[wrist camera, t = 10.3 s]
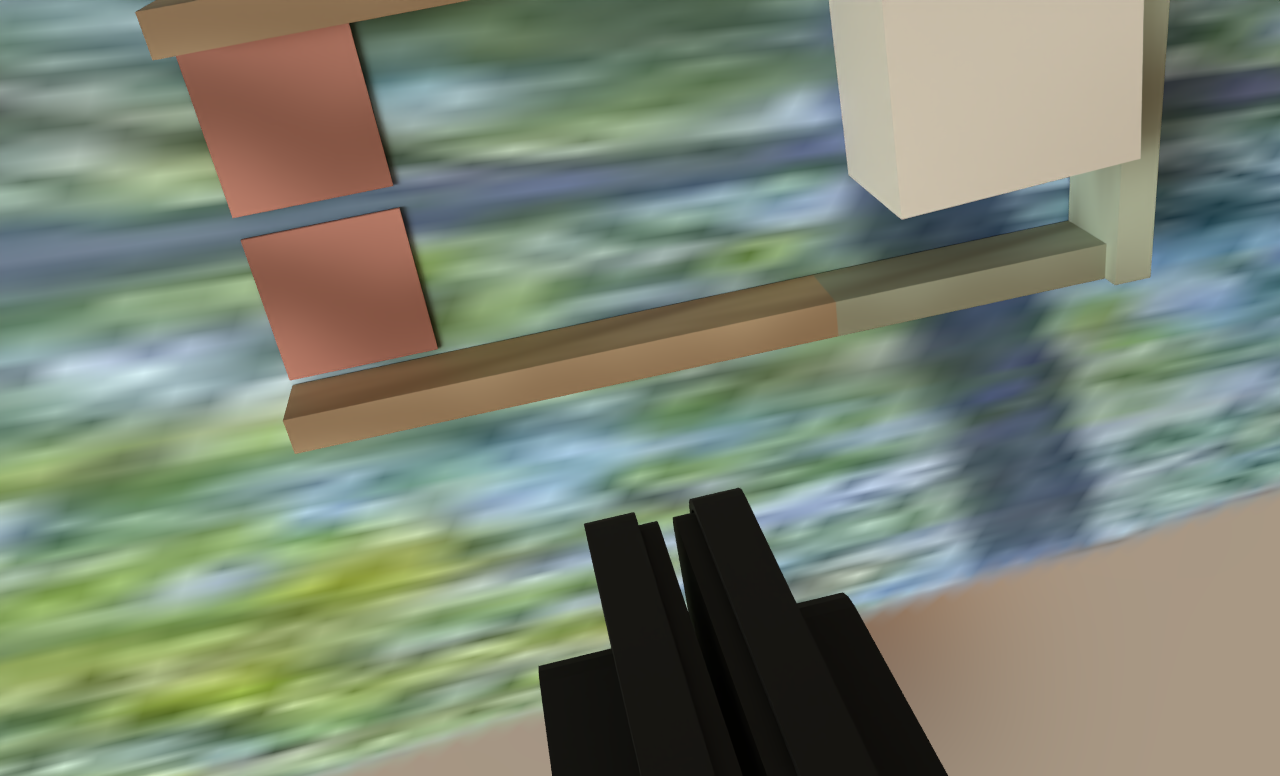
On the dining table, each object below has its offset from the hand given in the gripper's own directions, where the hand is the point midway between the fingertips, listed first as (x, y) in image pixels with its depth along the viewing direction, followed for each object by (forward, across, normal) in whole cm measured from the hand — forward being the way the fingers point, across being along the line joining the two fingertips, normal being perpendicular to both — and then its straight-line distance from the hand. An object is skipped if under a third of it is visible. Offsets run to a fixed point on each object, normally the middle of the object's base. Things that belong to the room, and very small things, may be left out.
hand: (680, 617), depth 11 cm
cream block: (+18, -11, -1) cm, 22 cm away
